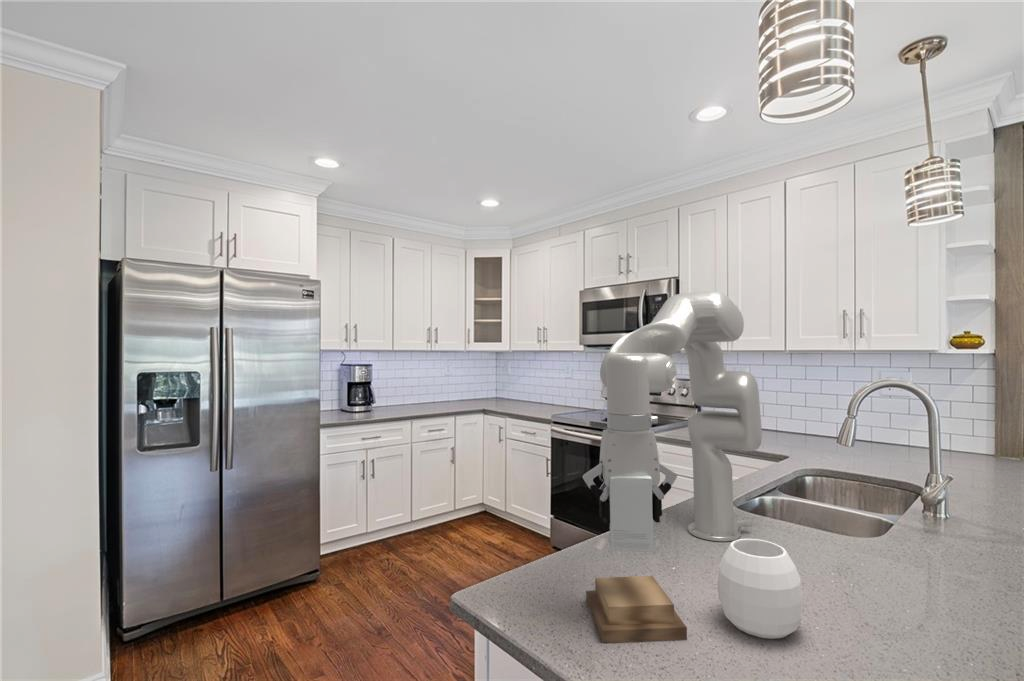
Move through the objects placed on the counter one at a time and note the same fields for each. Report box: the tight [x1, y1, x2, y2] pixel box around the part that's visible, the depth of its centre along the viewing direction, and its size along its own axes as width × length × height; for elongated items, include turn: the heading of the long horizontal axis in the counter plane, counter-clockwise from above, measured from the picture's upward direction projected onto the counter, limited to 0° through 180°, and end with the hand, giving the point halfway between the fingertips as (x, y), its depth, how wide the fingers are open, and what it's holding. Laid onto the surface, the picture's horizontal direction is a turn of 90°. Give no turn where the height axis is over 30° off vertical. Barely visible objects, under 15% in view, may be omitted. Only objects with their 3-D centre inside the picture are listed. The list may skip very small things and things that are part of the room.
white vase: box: [717, 538, 804, 640], centre depth 87 cm, size 13×13×14 cm
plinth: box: [585, 575, 688, 644], centre depth 90 cm, size 14×14×5 cm
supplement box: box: [608, 476, 654, 553], centre depth 90 cm, size 7×7×13 cm
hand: (630, 520), depth 90 cm, fingers closed on supplement box, 8 cm apart
